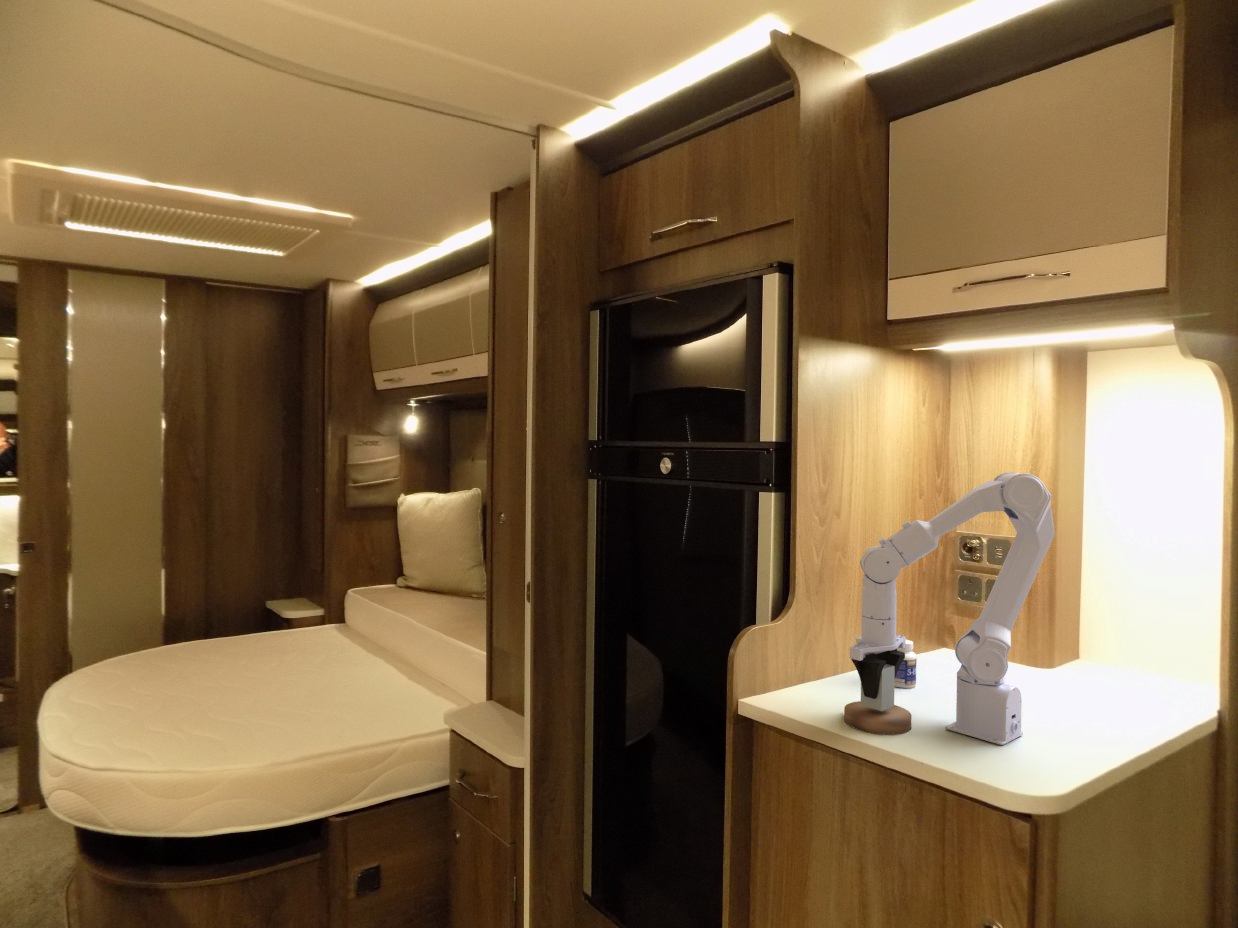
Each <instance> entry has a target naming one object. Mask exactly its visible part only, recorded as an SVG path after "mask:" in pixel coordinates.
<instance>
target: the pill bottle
mask: <svg viewBox="0 0 1238 928" xmlns="http://www.w3.org/2000/svg"><path fill="white" fill-rule="evenodd" d="M913 650H914V641H912V640H909V639H906V645H905V648H897V651H901V652H904V653H905V658H904V660H903V661H902V663H901V665H900V667H899V669H898V671H897V674H896V677H895V680H894V688H901V689H913V688H915V687H916V685H917V654H916V653H915V652H914V651H913Z"/></svg>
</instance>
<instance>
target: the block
mask: <svg viewBox="0 0 1238 928" xmlns="http://www.w3.org/2000/svg"><path fill="white" fill-rule="evenodd" d="M894 677H895V666H892V665H888V664H885V665H884V667H883V670H882V673H881V676H880V682H879V691H878V695H877V698H876V699H872V698H869V697H865V696H864V693H863V688H862V684H861V683H860V701H861V705H862V706H865V707H869V708H872V709H876V710H879V711H883V710H886V709H889V708H891V707H894V705H895V686H894Z"/></svg>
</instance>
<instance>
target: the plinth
mask: <svg viewBox="0 0 1238 928" xmlns="http://www.w3.org/2000/svg"><path fill="white" fill-rule="evenodd" d="M843 710H844V715H843V716H844V722H845V723H846V724H847V726H849V727H851V728H853V729H856V730H858V731H862V732H865V733H871V734H876V735H891V736H892V735H901V734H905V733H907V732H908V733H909V732H910V730H912V715H913V714H912V713H911V712H910V710H907V708H904V707H902V706H899V705H896V704H894V707H891V708H889V709H886V710H883V711H879V710H876V709H872V708H869V707H865V706H862V705H861V700H860V701H859V700H858V701H853V702H850V703H847V704H846V705H845V706H844V709H843Z"/></svg>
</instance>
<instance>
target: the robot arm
mask: <svg viewBox="0 0 1238 928" xmlns="http://www.w3.org/2000/svg"><path fill="white" fill-rule="evenodd" d="M1052 497H1053V496H1052V494H1051V493H1050V491H1049V490H1048V488H1047V487H1046V485H1045V484H1044V482H1043V481H1042V480H1041V479H1040V478H1039V477H1037V476H1036V475H1034V474H1031V473H1023V472H1022V473H1016V472H1010V471H1008V472H1004V473H1000V474H998V475H997V476H995V478H994V479H992V480H991V479H990V480H987V481H985V482H983V483H982V484H980V485H978V486H976V487H975V488H973V489H972V490H971V491H969V492H968V493H965V495H963V496H962V497H960V498H959V499H958V500H956V501H955V502H953V503H952V504H951V505H950V506H948V507H947V508H944V509H943V510H942V511H941V512H939V513H938V514H936V515H934V517H932V518H930V519H929V520H927V521H923V520H919V519H916V520H913V521H912V522H910V521H909V520H907V521H905V522H904V523H902V524H901V526H902V528H901V529H899V530H898V531H897V532H895V533H894V534H891V536H889V537H888V538H886V539H885V538H884V537H881V539H879V540H878V543H879V544H880V545H873V546H870V547H869V548H867V549H866V550H865V551H864V552H863V554H862V556H861V559H860V560H859V565H860V568H861V570H862V572H863V573H864V574H863V577H862V588H861V628H860V629H861V634H860V635H861V636H859V637H858V636H857V637H856V638H855V642H856V643H855V644H854V645H852V646H850V647H849V659H851V661H852V663H853V664H854V667H855V669H856V670H857V671H856V672H857V673H858V676H859V680H860V685H861V684H862V688H863V693H864V696H865V697H869V698H872V699H876V698H877V695H878V691H879V682H880V676H881V673H882V670H883V667H884V665H885V664H888V665H892V666H895V677H896V674H897V671H898V669H899V667H900V665H901V663H902V661H903V660H904V658H905V653H904V652H901V651H897V648H905V645H906V640H907V639H906V636H905V635H899V634H897V609H898V608H897V600H898V596H897V595H898V594H897V593H898V592H897V590H896V589H897V588H896V587H897V584H896V581H897V578H898V577H899V575H900V572H901V569H906V568H908V567H909V566H911V565H912V564H914V563H915V562H917V561H918V560H921V558H923V557H925V556H926V555H928V554H929V553H931V552H933V551H935V549H937V548H938V545H939V540H940V538H941V537H942V536H944V535H945V534H947V533H949V532H951V531H952V530H954V529H956V528H957V527H959V526H961V525H962V524H964V523H966V522H968V521H969V520H972V519H973V518H975V517H976V516H978V515H980V514H981V513H982V514H983V513H990V512H991V513H993V512H994V513H995V512H1004V513H1005V514H1006V515H1007V518H1008V519H1009V520H1010V522H1011V524H1012V526H1013V528H1014V529H1015V532H1016V535H1015V537H1014V539H1013V542H1012V544H1011V546H1010V547H1009V550H1008V553H1007V554H1006V557H1005V559H1004V561H1003V564H1002V566H1001V568H1000V570H999V572H998V575H997V577H996V579H995V581H994V583H993V585H992V588H991V591H990V593H989V595H988V597H987V599H986V601H985V604H984V605H983V608H982V611H981V612H980V615H979V617H978V618H977V619H975V620H974V621H973V622H972V623H971V625H970V627H969V628H968V631H967V632H966V633H965V634H964V635H962V636H961V637H959V639H958V640H957V642H956V643H955V647H954V653H955V657H956V659H957V661H958V662H959V663H960V664H961V666H960V668H959V669H958V670H957V672H956V709H955V710H956V711H955V713H956V714H955V715H956V716H955V717H956V718H955V721H953V722H952V723H950V724H947V725H946V726H945V729H946V730H948V731H952V732H955V733H959V734H962V735H966V736H969V737H973V738H976V739H979V740H982V741H986V742H989V743H992V744H997V745H1000V746H1004V745H1005V744H1008V743H1010V742H1012V741H1013V740H1015V739H1017V738H1018V737H1020V736H1022V735H1023V734H1024V732H1023V731H1022V694H1021V691H1020V689H1019V688H1018V687H1017V686H1014V685H1011V684H1009V683H1007V682H1006V681H1005V676H1006V674H1007V672H1008V669H1009V663H1008V655H1009V652H1010V650H1011V648H1012V636H1011V635H1012V630H1013V629H1014V626H1015V623H1016V621H1017V618H1018V617H1019V615H1020V612H1021V610H1022V608H1023V607H1024V606H1023V605H1024V604H1025V601H1026V599H1027V596H1028V595H1029V593H1030V590H1031V588H1032V586H1033V583H1034V581H1035V579H1036V577H1037V574H1038V573H1039V570H1040V568H1041V566H1042V564H1043V562H1044V559H1045V558H1046V554H1047V552H1048V551H1049V548H1050V546H1051V544H1052V542H1053V540H1054V538H1055V533H1056V532H1055V530H1056V529H1055V524H1054V517H1053V512H1052V507H1051V502H1052ZM895 677H894V680H895Z"/></svg>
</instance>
